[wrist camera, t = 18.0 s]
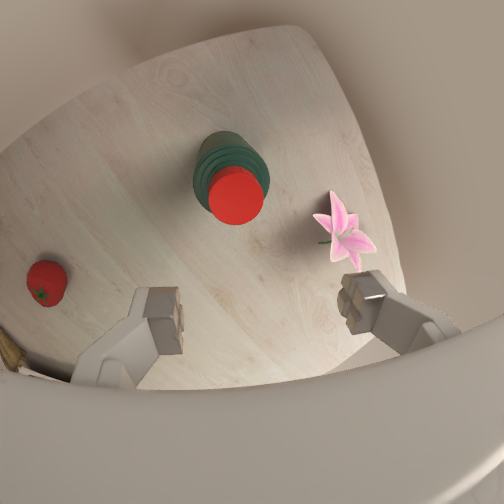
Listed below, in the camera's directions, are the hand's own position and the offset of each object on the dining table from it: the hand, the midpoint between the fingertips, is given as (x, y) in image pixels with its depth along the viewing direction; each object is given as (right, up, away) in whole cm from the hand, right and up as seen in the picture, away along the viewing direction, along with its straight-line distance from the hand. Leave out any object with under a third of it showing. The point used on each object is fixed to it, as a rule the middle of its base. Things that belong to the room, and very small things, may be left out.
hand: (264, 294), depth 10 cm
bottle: (-4, +14, +25) cm, 29 cm away
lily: (+12, +6, +33) cm, 35 cm away
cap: (-2, +5, +9) cm, 11 cm away
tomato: (-36, -2, +30) cm, 47 cm away
